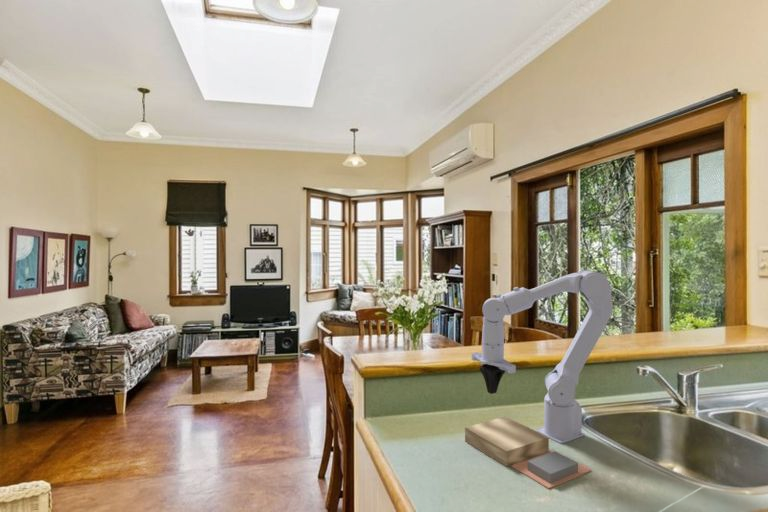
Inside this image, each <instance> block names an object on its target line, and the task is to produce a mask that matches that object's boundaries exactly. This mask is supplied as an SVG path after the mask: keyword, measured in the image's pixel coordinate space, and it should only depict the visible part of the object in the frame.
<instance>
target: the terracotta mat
mask: <svg viewBox="0 0 768 512" xmlns="http://www.w3.org/2000/svg"><path fill="white" fill-rule="evenodd" d="M554 451H555V452H557V451H556V450H550V451H549V452H546V453H543V454H540V455H538V456H535V457H532V458H529V459H527V460H524V461H521V462H518V463H516V464H513V465H510V466H511V467H512V468H513V469H515V470H516V471H518V472H520V473H521V474H523V475H525V476H526V477H528V478H529V479H531V480H533V481H535V482H537V483H538V484H539V485H542V486H543V487H544V488H546V489H548V490H549V489H552V488H555V487H557V486H559V485H562V484H563V483H564V484H565V483H566V482H569V481H571V480H573V479H575V478H578V477H580V476H583V475H585V474H587V473H590V472H592V469H591V468H589V467H587V466H585V465H583V464H581V463H579V462H577V463H578V472H577V473H574V474H572V475H570V476H567V477H565V478H563V479H560V480H558V481H555V482H553V483H551V484H550V483H549V482H547V481H545V480H544V479H542V478H540V477H538V476H537V475H535V474H533V473H532V472H530V471H528V461H530V460H532V459H535V458H538V457H540V456H543V455H546V454H549V453H551V452H554ZM557 453H559V452H557ZM559 454H561V453H559Z"/></svg>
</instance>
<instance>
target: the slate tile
mask: <svg viewBox="0 0 768 512" xmlns="http://www.w3.org/2000/svg"><path fill="white" fill-rule="evenodd" d="M555 451H556V450H554V452H551V453H549V454H546V455H543V456H540V457H538V458H535V459H532V460H530V461H528V471H530V472H532V473H533V474H535V475H537V476H538V477H540V478H542V479H544V480H545V481H547V482H549V483H550V484H551V483H553V482H555V481H558V480H560V479H563V478H565V477H567V476H570V475H572V474H574V473H577V472H578V463H579V462H578V461H575V460H574V459H572V458H569V457H567V456H565V455H563V454H562V453H560V454H559V452H558V453H557V451H556V452H555Z"/></svg>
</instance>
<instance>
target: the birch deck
mask: <svg viewBox="0 0 768 512" xmlns="http://www.w3.org/2000/svg"><path fill="white" fill-rule="evenodd" d="M464 441H465V442H466V443H467V444H469V445H470V446H471V447H474V448H475V449H477V450H478V451H481V452H482V453H484V454H486V455H487V456H488V457H490V458H492V459H493V460H495V461H497V462H498V463H499V464H502V465H503V466H504V467H510V466H511V465H514V464H516V463H519V462H522V461H525V460H527V459H530V458H533V457H536V456H539V455H541V454H544V453H547V452H550V451H549V450H550V449H549V447H550V445H549V442H550V438H549V437H547V436H545V435H543V434H541V433H539V432H537V431H536V430H534V429H533V428H530V427H529V426H526V425H524V424H522V423H520V422H518V421H516V420H514V419H511V418H510V417H507V416H502V417H499V418H494V419H492V420H487V421H485V422H480V423H476V424H473V425H469V426H465V428H464Z"/></svg>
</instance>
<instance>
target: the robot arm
mask: <svg viewBox="0 0 768 512" xmlns="http://www.w3.org/2000/svg"><path fill="white" fill-rule="evenodd" d="M565 292H567V293H573V294H581V295H582V296H583V298H584V299H585V303H586V305H587V307H588V312H587V313H586V315H585V317H584V319H583V320H582V323H581V324H580V327H579V328H578V329H577V332H576V333H575V336H573V337H574V338H573V339H572V341H571V343H569V344H570V345H569V347H568V349H567V350H566V352H565V354H564V356H563V357H562V359H561V361H560V362H559V363H558V364H556V365H555V367H554V369H553V370H552V371H550V372H549V373H548V374H546V375H545V378H544V385H545V388H546V389H547V393H546V394H545V396H544V399H543V427H542V428H539V429H536V430H535V431H537V432H539V433H541V434H543V435H545V436H547V437H549V440H552V441H554V442H556V443H558V444H565V443H568V442H570V441H574V440H577V439H579V438H581V437H585V433H583V431H582V426H583V425H582V424H583V423H582V422H583V419H582V418H583V409H582V406H581V405H580V403H579V401H577V400H576V399H575V397H576V388H577V386H578V384H579V378H580V373H581V371H582V370H583V368H584V366H585V364H586V362H587V361H588V359H589V357H590V355H591V353H592V352H593V350H594V348H595V346H596V344H597V342H598V341H599V340H600V339H599V338H600V337H601V335H602V334H603V332H604V330H605V328H606V326H607V324H608V323H609V321H610V319H611V317H612V315H613V313H614V308H613V299H612V292H613V288H612V286H611V284H610V282H609V280H608V279H607V277H606V276H605V275H604V274H602V273H600V272H595V271H594V270H591V269H584V270H581V271H579V272H572V273H569V274H566V275H563V276H560V277H558V278H556V279H552V280H551V281H547V282H546V283H543V284H541V285H538V286H535V287H534V288H530V289H528V288H525V287H523V286H522V287H520V288H519V287H518V286H516V287H513V290H511V291H508V292H506V293H503V294H500V293H499V294H497V295H496V294H495V296H496V297H491V298H488V299H487V300H485V301H484V303H483V304H482V308H481V309H482V310H481V311H482V315H483V318H482V323H483V325H482V328H481V329H482V330H481V331H482V332H481V335H482V336H481V353H480V352H472V353H471V360H472V361H473V362H475V361H477V362H478V363H479V364H482V365H479V371H480V372H481V374H482V377H483V380H484V382H485V387H486V390H487V393H488V394H491V395H493V394H496V393H497V392H498V389H499V384H500V382H501V379H502V377H503V376H504V374H505V372H506V373H507V374H510V375H511V374H515V373H516V372H517V366H516V364H513V363H512V362H510V361H508V360H506V359H505V358H504V356H505V353H504V352H505V326H504V318H505V316H512V315H514V314H517V313H520V312H522V311H525V310H528V309H530V308H531V309H532V307H533V305H534V303H535V302H536V301H539V300H542V299H545V298H549V297H552V296H555V295H558V294H561V293H565Z"/></svg>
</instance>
